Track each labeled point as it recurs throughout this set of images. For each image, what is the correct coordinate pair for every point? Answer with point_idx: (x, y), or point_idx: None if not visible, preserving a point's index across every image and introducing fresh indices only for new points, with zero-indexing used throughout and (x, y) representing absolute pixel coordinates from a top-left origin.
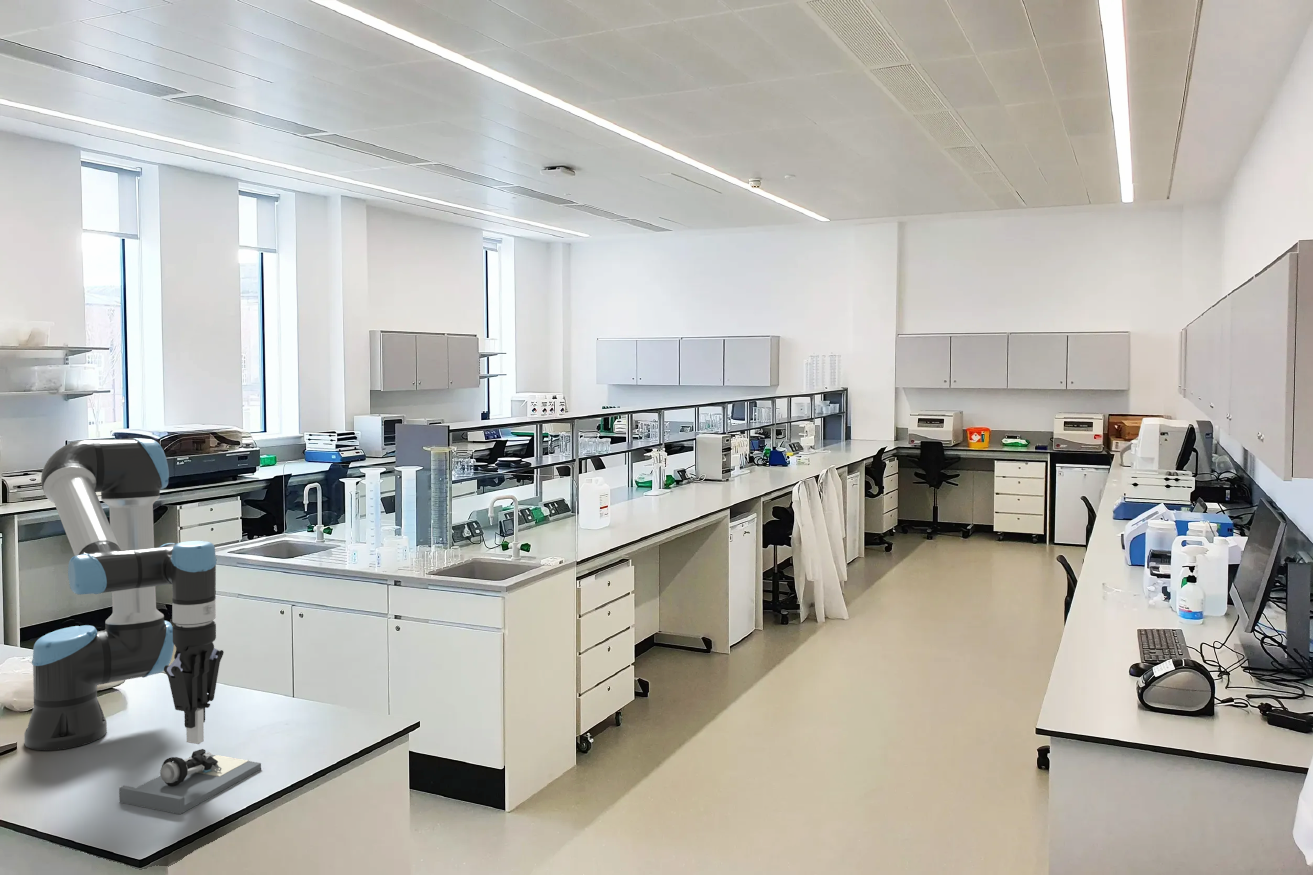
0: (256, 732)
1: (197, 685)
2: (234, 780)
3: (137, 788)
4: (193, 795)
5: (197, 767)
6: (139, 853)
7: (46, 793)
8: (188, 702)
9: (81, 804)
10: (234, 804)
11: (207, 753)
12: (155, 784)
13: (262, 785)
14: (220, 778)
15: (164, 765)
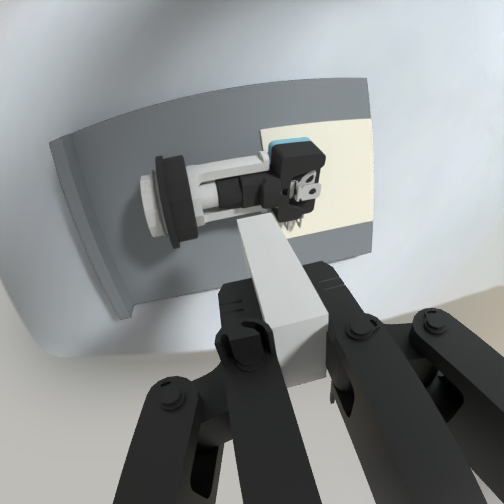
0: (482, 90)
1: (388, 497)
2: None
3: (74, 187)
4: (171, 280)
5: (245, 212)
6: (43, 346)
7: None
8: (214, 472)
9: (22, 82)
10: (215, 335)
11: (311, 187)
12: (149, 142)
13: None
14: None
15: (142, 199)
